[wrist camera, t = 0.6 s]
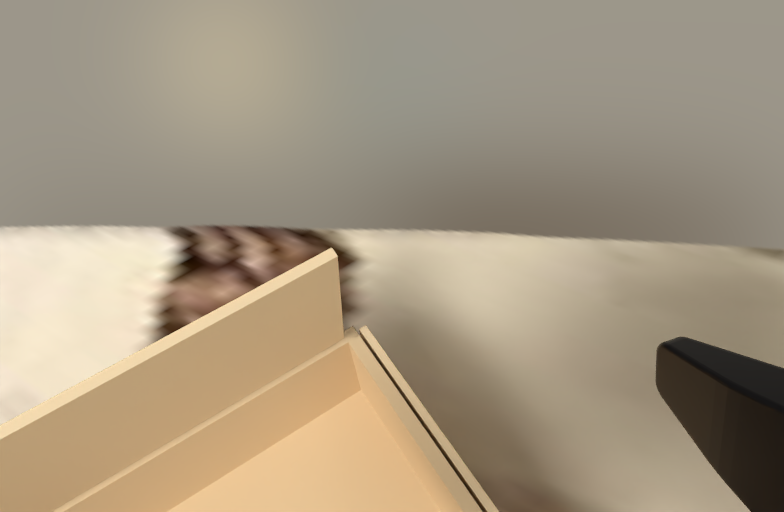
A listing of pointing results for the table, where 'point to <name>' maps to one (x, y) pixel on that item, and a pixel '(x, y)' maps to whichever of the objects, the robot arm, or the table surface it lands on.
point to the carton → (305, 449)
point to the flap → (168, 388)
